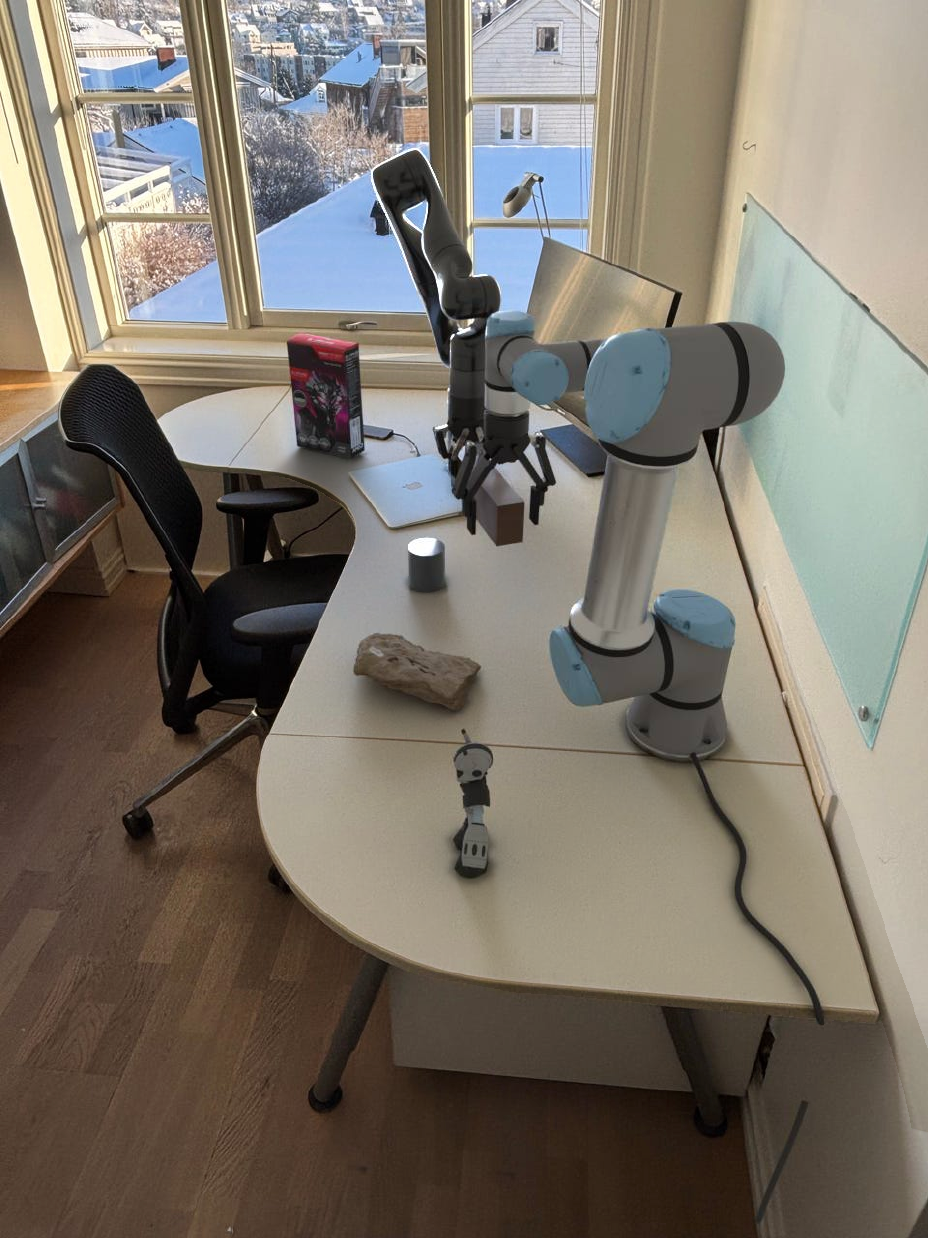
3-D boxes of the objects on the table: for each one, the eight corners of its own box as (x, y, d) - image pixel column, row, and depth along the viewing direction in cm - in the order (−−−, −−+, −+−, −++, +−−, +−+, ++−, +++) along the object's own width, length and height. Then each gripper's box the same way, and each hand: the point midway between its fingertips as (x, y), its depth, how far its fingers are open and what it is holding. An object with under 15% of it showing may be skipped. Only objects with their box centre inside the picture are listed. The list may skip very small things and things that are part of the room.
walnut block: (522, 542, 163) (524, 501, 159) (496, 546, 162) (497, 505, 158) (474, 481, 184) (475, 444, 179) (450, 485, 182) (450, 447, 178)
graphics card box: (294, 447, 232) (283, 339, 217) (310, 437, 237) (301, 331, 222) (351, 461, 225) (344, 350, 210) (367, 450, 230) (361, 342, 215)
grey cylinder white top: (439, 594, 175) (438, 558, 171) (404, 589, 177) (402, 553, 172) (449, 576, 181) (449, 540, 177) (415, 571, 182) (414, 535, 178)
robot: (495, 914, 114) (500, 797, 103) (456, 915, 114) (456, 798, 103) (484, 799, 130) (487, 688, 119) (450, 801, 130) (450, 689, 119)
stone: (328, 683, 147) (335, 650, 144) (363, 649, 160) (369, 618, 158) (451, 727, 143) (460, 694, 141) (476, 689, 157) (485, 658, 154)
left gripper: (498, 378, 174) (496, 461, 183) (426, 386, 170) (427, 471, 179) (513, 392, 168) (509, 477, 177) (438, 400, 164) (438, 487, 174)
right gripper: (563, 393, 158) (555, 508, 170) (431, 408, 152) (433, 526, 164) (581, 409, 152) (572, 526, 165) (445, 425, 146) (446, 546, 158)
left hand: (468, 473), depth 178 cm, fingers closed on walnut block, 5 cm apart
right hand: (502, 526), depth 164 cm, fingers open, 11 cm apart
